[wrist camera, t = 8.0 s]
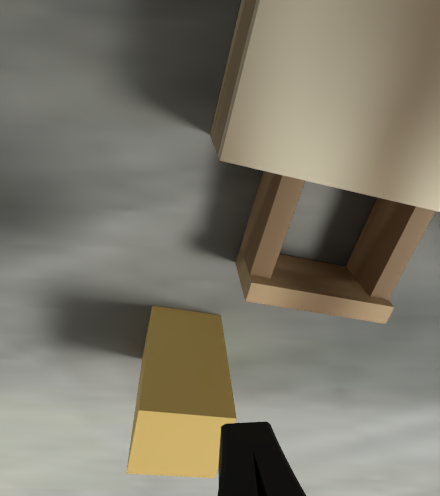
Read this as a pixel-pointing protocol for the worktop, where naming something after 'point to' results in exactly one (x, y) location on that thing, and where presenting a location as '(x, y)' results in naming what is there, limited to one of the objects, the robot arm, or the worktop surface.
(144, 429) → the yellow block
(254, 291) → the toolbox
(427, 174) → the lid
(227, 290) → the worktop surface
